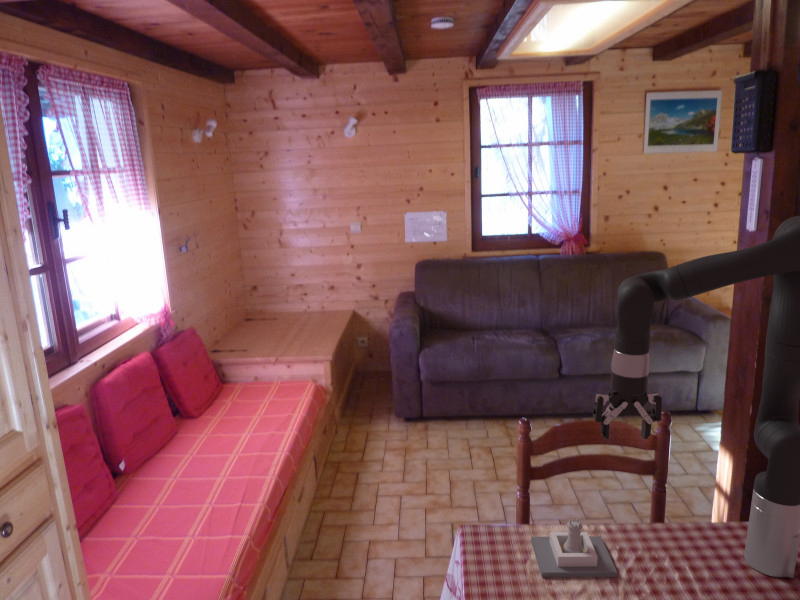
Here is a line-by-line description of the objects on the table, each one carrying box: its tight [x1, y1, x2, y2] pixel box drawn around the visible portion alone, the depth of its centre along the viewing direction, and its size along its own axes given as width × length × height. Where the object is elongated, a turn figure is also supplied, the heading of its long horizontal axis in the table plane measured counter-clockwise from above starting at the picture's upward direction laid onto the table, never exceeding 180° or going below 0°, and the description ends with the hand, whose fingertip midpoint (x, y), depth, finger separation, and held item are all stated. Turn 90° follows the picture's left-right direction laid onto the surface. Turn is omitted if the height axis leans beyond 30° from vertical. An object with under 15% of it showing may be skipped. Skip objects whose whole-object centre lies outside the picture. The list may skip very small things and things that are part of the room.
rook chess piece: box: [563, 518, 584, 553], centre depth 131 cm, size 4×4×8 cm
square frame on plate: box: [530, 531, 618, 578], centre depth 132 cm, size 16×12×4 cm
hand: (624, 437), depth 132 cm, fingers open, 8 cm apart
